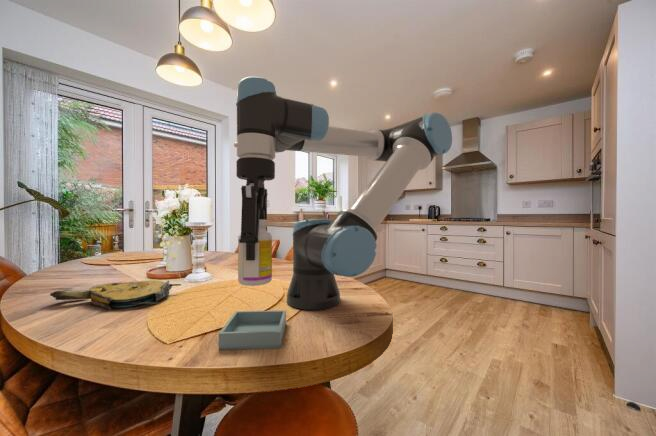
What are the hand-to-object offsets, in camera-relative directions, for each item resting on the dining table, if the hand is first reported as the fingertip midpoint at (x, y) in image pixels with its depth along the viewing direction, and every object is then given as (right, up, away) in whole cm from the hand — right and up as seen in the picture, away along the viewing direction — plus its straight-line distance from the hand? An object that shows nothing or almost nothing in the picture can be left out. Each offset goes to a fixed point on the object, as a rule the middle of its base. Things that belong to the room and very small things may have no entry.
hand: (255, 272), depth 55 cm
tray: (0, -13, 0) cm, 13 cm away
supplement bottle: (0, -2, 0) cm, 2 cm away
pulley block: (-45, -13, +21) cm, 51 cm away
